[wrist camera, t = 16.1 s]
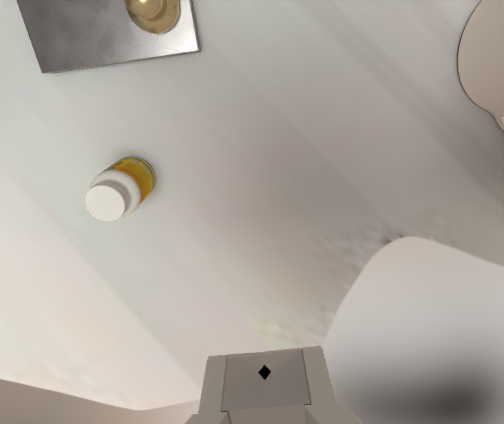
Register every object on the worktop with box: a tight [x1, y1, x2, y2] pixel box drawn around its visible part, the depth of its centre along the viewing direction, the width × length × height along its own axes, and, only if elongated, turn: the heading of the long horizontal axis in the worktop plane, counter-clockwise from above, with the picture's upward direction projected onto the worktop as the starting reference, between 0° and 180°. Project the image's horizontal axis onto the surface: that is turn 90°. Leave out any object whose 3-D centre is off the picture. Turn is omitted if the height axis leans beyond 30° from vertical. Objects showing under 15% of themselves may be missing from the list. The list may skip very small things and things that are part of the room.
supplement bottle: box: [85, 157, 155, 222], centre depth 38 cm, size 5×5×10 cm
